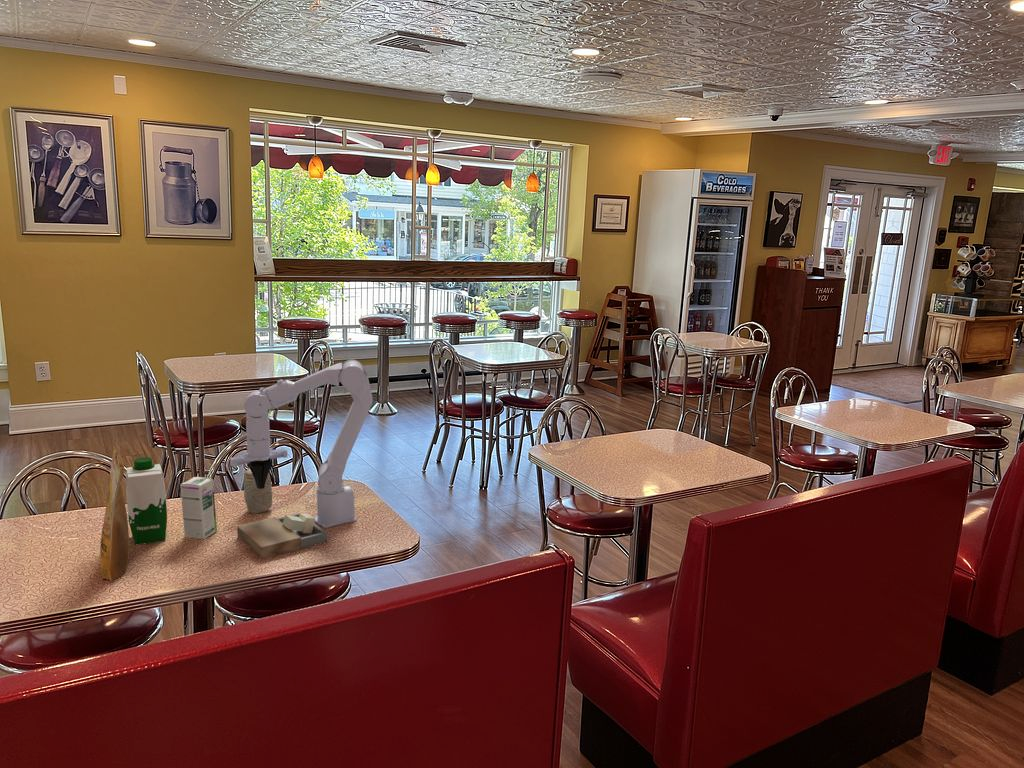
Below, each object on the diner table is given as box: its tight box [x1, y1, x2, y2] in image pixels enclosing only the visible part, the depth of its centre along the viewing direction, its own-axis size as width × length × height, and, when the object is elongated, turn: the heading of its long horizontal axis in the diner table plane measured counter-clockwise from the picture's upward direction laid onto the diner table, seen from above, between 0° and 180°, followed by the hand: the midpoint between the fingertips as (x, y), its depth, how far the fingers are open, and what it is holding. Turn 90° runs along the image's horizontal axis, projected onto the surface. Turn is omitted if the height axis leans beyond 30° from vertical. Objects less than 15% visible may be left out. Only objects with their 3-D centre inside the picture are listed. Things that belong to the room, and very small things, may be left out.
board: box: [236, 516, 301, 560], centre depth 194 cm, size 10×16×3 cm, turn 39°
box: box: [276, 512, 328, 549], centre depth 199 cm, size 7×16×2 cm, turn 39°
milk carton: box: [125, 457, 168, 546], centre depth 193 cm, size 9×9×20 cm
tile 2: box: [299, 512, 316, 533], centre depth 200 cm, size 4×4×2 cm
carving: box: [243, 468, 274, 514], centre depth 213 cm, size 6×8×12 cm
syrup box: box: [180, 476, 218, 540], centre depth 196 cm, size 6×6×14 cm
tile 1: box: [282, 514, 306, 531], centre depth 197 cm, size 4×4×2 cm
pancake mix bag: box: [99, 441, 130, 583], centre depth 176 cm, size 7×19×28 cm, turn 23°
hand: (260, 487), depth 203 cm, fingers closed
